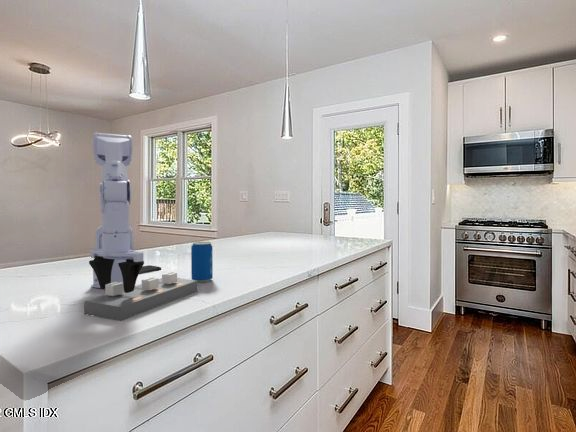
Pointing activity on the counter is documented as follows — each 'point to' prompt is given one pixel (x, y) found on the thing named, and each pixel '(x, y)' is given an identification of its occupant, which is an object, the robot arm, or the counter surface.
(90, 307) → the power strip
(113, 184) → the robot arm
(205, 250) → the beverage can
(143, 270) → the phone
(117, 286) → the switch
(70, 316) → the counter surface
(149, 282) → the switch
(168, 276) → the switch
